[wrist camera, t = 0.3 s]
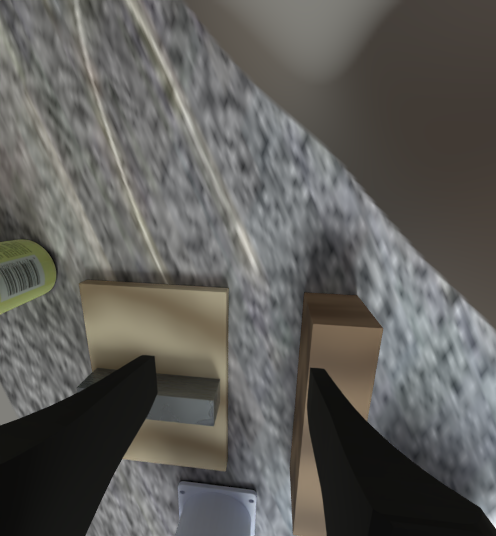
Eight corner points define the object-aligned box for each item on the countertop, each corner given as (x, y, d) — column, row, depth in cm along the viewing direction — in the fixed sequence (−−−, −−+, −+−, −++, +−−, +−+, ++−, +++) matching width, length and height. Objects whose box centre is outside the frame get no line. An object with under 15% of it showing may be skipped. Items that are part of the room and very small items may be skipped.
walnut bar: (331, 470, 26) (346, 541, 21) (289, 465, 26) (293, 534, 21) (356, 294, 21) (383, 328, 16) (303, 291, 21) (313, 324, 16)
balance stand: (227, 461, 26) (220, 500, 23) (111, 447, 28) (88, 483, 24) (228, 288, 22) (219, 305, 18) (87, 279, 23) (54, 294, 19)
